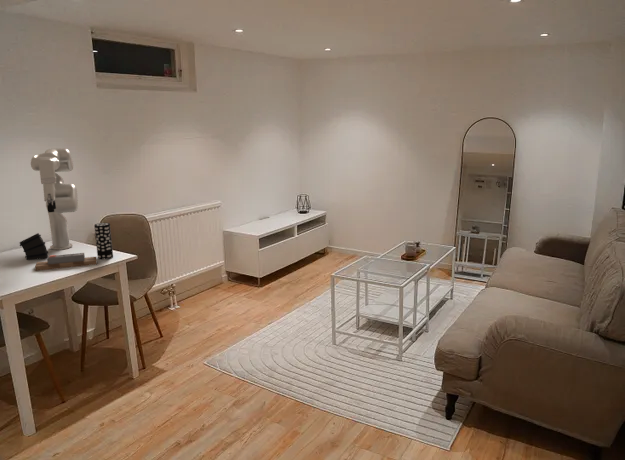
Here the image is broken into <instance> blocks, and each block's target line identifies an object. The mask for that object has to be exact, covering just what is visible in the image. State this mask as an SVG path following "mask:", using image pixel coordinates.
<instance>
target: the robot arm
mask: <svg viewBox="0 0 625 460" xmlns="http://www.w3.org/2000/svg"><path fill="white" fill-rule="evenodd" d="M30 167H31V168H32V170H33V171H36V172H38V171H39V175H40V176H39V178H40V183H41V185H42V187H43V199H44V200H43V201H44V202H45V207H46V210H47V211H46V212H47V215H48V219H49V220H48V221H49V227H50V228H49V229H50V233H51V243H52V245H50V246H49V249H51V250H54V251H57V250H58V251H59V250H60V251H61V250H67V249H70V248H72V247H73V243H70V237H69V226H68V219H67V218H66V217H65V215H63V214H65V213H74V212H75V213H76V212H77V211H78V209H79V205H78V201H79V200H78V199H79V198H78V189H77V187H76V185H75V184H73V183H64V178H62V176H61V175H60V174H58V173H61V172H62V173H63V172H65V173H66V172H68V173H69V172H72V171H73V170H74V161H73V157H72V154H71V152H70V150H69V149H68V148H48V149H46V150H45V152H43V153H40V154H39V153H38V154H35V155H33V156H32V157H31V160H30Z"/></svg>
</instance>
